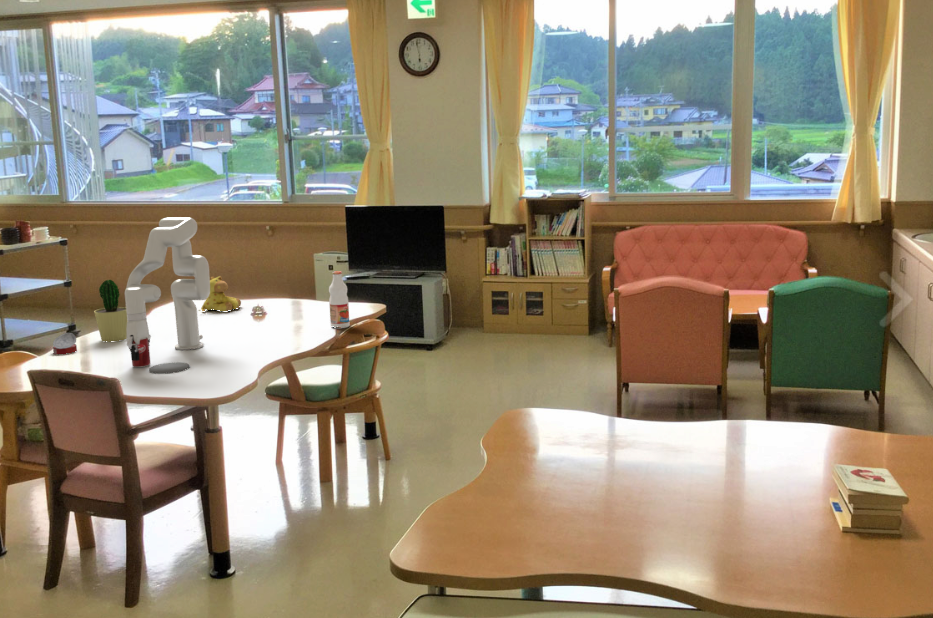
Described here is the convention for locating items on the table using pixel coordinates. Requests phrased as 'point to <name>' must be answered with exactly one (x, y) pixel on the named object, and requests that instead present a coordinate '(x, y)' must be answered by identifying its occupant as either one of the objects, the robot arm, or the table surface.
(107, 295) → the potted cactus
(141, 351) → the soda can
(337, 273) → the fruit juice
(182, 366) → the charcoal mat
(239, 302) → the giraffe plush
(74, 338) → the snow globe
